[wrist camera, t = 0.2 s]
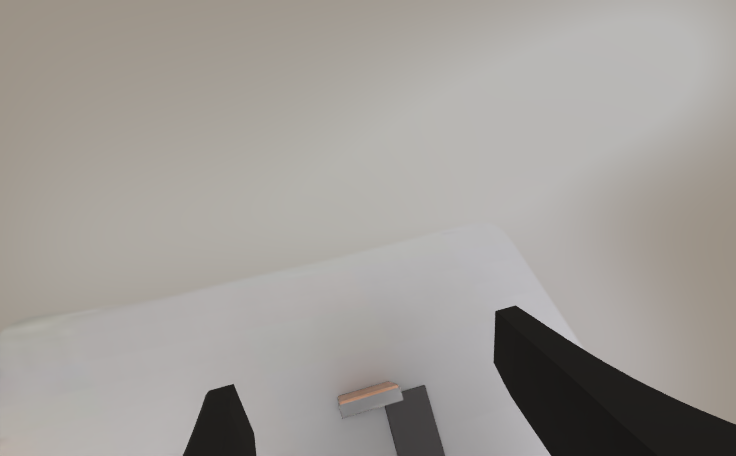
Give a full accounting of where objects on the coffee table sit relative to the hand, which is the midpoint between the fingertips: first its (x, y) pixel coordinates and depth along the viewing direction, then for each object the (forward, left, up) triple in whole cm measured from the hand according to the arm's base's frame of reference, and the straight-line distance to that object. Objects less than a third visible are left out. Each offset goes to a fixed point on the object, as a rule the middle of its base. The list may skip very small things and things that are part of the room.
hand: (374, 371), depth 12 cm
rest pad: (-7, -5, -31) cm, 32 cm away
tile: (-3, -1, -31) cm, 31 cm away
